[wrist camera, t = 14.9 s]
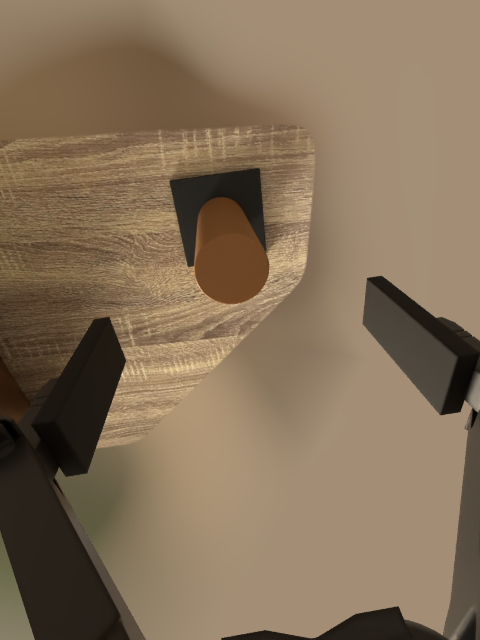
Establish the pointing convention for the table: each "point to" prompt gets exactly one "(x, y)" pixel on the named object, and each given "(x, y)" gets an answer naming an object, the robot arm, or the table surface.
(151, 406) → the table surface
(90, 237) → the table surface
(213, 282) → the brown cylinder
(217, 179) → the mat
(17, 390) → the cabinet
